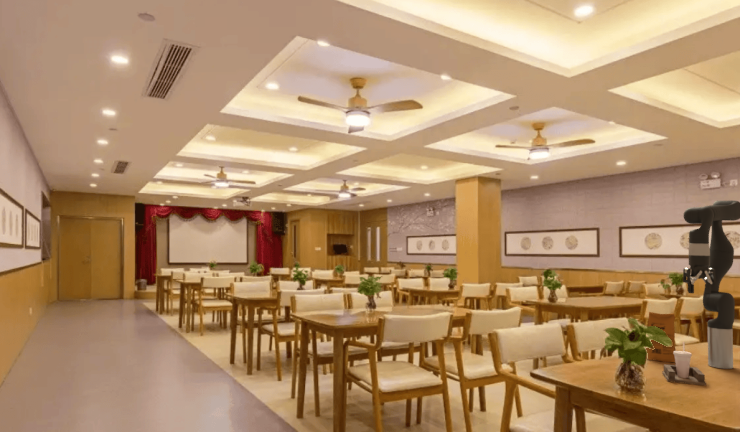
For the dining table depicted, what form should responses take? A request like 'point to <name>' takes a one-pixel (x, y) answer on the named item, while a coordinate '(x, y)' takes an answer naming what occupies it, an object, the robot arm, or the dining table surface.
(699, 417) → the dining table surface
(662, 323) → the coffee package
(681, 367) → the smoothie
